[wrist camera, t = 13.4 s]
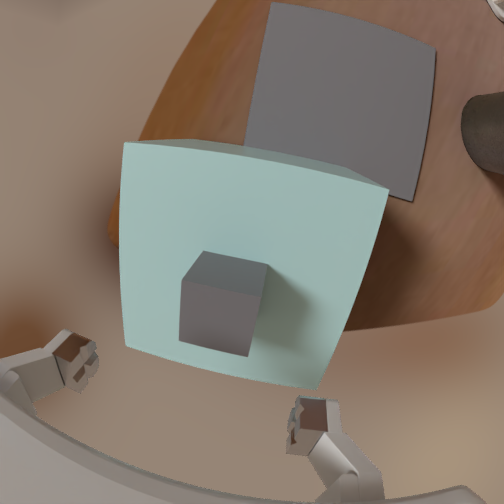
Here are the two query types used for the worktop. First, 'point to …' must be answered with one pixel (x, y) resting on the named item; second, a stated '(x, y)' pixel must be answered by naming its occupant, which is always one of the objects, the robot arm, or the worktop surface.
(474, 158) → the pillar candle
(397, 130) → the mat
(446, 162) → the worktop surface
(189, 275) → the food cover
